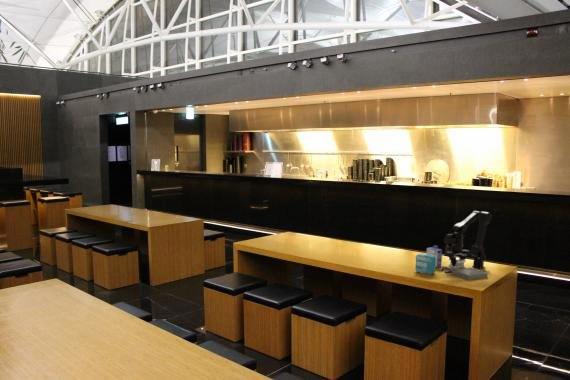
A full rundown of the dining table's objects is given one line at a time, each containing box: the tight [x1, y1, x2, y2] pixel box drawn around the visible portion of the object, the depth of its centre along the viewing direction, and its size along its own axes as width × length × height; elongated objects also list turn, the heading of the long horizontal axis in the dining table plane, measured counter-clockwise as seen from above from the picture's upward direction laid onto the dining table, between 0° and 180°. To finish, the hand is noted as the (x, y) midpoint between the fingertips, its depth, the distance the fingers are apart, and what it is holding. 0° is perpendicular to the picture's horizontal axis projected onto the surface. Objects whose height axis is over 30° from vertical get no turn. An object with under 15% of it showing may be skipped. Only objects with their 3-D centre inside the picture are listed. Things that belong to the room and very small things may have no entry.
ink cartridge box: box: [426, 244, 443, 268], centre depth 341 cm, size 10×6×14 cm, turn 33°
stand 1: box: [444, 265, 455, 271], centre depth 329 cm, size 11×11×2 cm
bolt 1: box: [438, 265, 446, 272], centre depth 329 cm, size 6×2×2 cm, turn 139°
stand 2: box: [451, 266, 489, 281], centre depth 316 cm, size 16×15×3 cm
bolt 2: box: [443, 269, 453, 274], centre depth 324 cm, size 6×2×2 cm, turn 114°
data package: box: [414, 253, 436, 275], centre depth 323 cm, size 12×4×12 cm, turn 53°
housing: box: [448, 256, 466, 269], centre depth 329 cm, size 6×9×6 cm, turn 24°
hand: (456, 265), depth 329 cm, fingers closed on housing, 6 cm apart
